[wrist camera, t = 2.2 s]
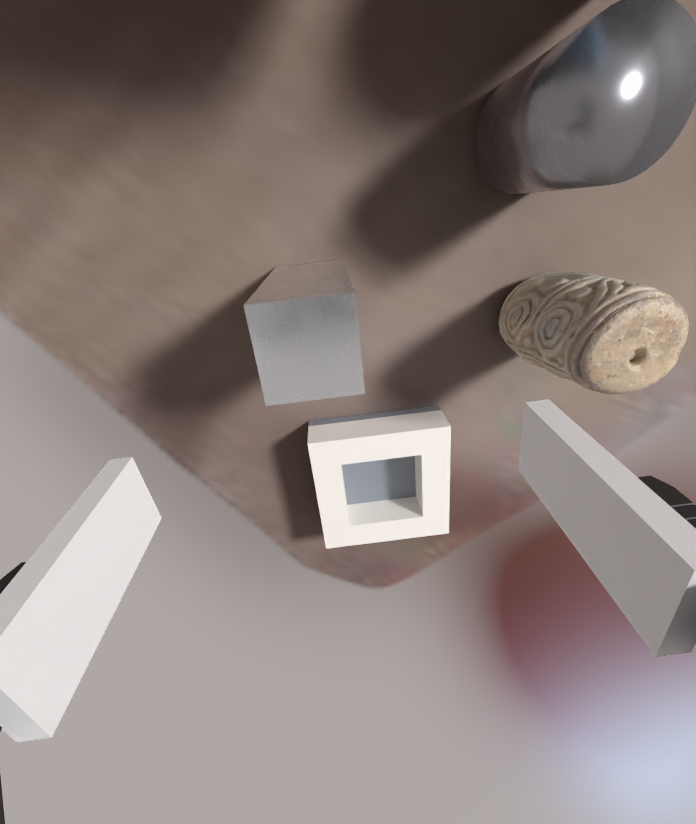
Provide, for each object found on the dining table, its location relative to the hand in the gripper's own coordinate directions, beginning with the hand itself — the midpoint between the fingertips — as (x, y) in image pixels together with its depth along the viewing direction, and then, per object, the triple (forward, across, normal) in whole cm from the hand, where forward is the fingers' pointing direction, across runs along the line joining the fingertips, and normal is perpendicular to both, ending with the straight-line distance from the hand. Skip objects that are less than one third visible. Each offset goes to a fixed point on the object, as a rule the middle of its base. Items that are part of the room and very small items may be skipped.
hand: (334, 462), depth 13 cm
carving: (+21, +17, -2) cm, 27 cm away
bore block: (+20, +3, -16) cm, 26 cm away
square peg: (+21, -1, +1) cm, 21 cm away
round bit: (+21, +15, +10) cm, 28 cm away
